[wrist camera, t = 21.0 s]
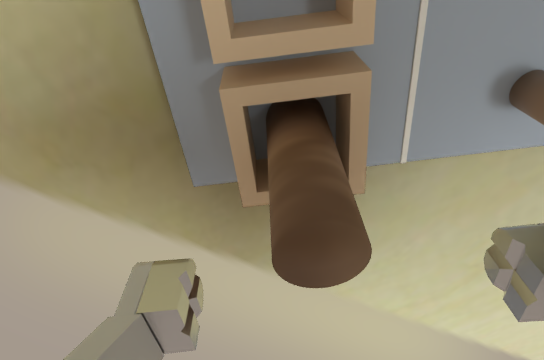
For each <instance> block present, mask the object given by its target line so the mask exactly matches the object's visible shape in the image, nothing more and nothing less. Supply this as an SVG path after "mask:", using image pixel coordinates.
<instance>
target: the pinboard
mask: <svg viewBox="0 0 544 360" xmlns="http://www.w3.org/2000/svg"><path fill="white" fill-rule="evenodd" d="M138 2H139V5H140V9H141V12H142V15H143V19H144V22H145V25H146V29H147V32H148V35H149V39H150V42H151V45H152V49H153V52H154V55H155V59H156V62H157V65H158V69H159V72H160V75H161V79H162V82H163V85H164V89H165V92H166V96H167V99H168V102H169V106H170V109H171V112H172V116H173V119H174V122H175V126H176V129H177V132H178V136H179V139H180V142H181V146H182V149H183V152H184V156H185V159H186V162H187V166H188V169H189V172H190V176H191V179H192V182H193V186H194V187H196V186H205V185H213V184H222V183H230V182H238V185H239V190H240V195H241V200H242V205H243V207H250V206H259V205H267V204H270V202H269V180H268V157H267V134H266V115H267V112H268V109H269V107H270V106H271V104H272V103H275V102H283V101H291V100H300V99H308V98H315V99H317V100H318V101H319V103H320V104H321V106H322V108H323V110H324V113H325V116H326V119H327V122H328V125H329V127H330V130H331V133H332V136H333V139H334V142H335V144H336V147H337V150H338V153H339V156H340V159H341V161H342V164H343V167H344V170H345V173H346V176H347V178H348V181H349V184H350V187H351V190H352V193H353V195H354V194H363V193H365V181H366V166H375V165H383V164H392V163H406V162H409V161H417V160H426V159H434V158H443V157H451V156H460V155H468V154H477V153H486V152H494V151H503V150H511V149H520V148H528V147H537V146H544V0H138Z"/></svg>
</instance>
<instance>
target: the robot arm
mask: <svg viewBox="0 0 544 360" xmlns="http://www.w3.org/2000/svg"><path fill="white" fill-rule="evenodd" d="M491 240H492V241H493V242H494V245H492V246H491V247H490V248H489V249H487V250H486V253H485V257H484V265H485V270H486V273H487V275H488V277H489V279H490V280H491V282H492V283H493V285H495V286H496V287H498V288H499V289H501V290H503V291H504V296H503V300H504V301H505V303H506V304H507V306H508V307H509V309H510V310H511V311H512V313H513V314H514V316H515V317H516V319H517V320H518V322H528V321H544V223H541V224H530V225H521V226H512V227H503V228H497V229H496V230H495V231H494V232H493V234H492V237H491ZM195 271H196V265H195V263H194V261H193V259H177V260H163V261H154V262H140V263H137V264H136V265H135V266H134V267H133V269H132V271H131V274H130V276H129V279H128V282H127V284H126V287H125V289H124V292H123V294H122V297H121V300H120V302H119V305H118V307H117V310H116V313H115V315H114V316H112V317H108V318H107V319H106V320H105V321H104V322H102V323H101V324H100V325H99V326H98V327H97V328H96V329H95V330H94V331H93V332H92V333H91V334H90V335H89V336H88V337H87V338H85V339H84V340H83V341H82V342H81V343H80V344H79V345H78V346H77V347H76V348H75V349H74V350H73V351H72V352H71V353H70V354H69V355H68V356H66V357H65V358H64V359H63V360H162V359H163V357H164V354H167V353H176V352H184V351H193V350H196V346H197V340H198V333H199V327H200V326H199V324H198V321H197V319H196V318H197V316H198V315H199V314H200V313H201V312H202V307H203V288H202V283H201V279H200V277H198V276H197V275H195Z"/></svg>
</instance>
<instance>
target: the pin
mask: <svg viewBox="0 0 544 360" xmlns="http://www.w3.org/2000/svg"><path fill="white" fill-rule="evenodd" d="M266 134H267V157H268V180H269V202H270V225H271V248H272V264H273V267H274V269H275V271H276V272H277V274H278V275H279V276H280V277H281V278H283V279H284V280H285V281H287V282H289V283H291V284H294V285H297V286H301V287H306V288H325V287H331V286H335V285H339V284H341V283H344V282H346V281H348V280H350V279H352V278H354V277H355V276H357V275H358V274H359V273H360V272H361V271H362V270H364V268H365V267H366V266H367V264H368V263H369V260H370V258H371V254H372V248H371V244H370V241H369V238H368V235H367V232H366V229H365V227H364V224H363V221H362V218H361V215H360V212H359V210H358V207H357V204H356V201H355V198H354V195H353V193H352V190H351V187H350V184H349V181H348V178H347V176H346V173H345V170H344V167H343V164H342V161H341V159H340V156H339V153H338V150H337V147H336V144H335V142H334V139H333V136H332V133H331V130H330V127H329V125H328V122H327V119H326V116H325V113H324V110H323V108H322V106H321V104H320V103H319V101H318V100H317V99H315V98H308V99H300V100H291V101H283V102H275V103H272V104H271V106H270V107H269V109H268V112H267V115H266Z"/></svg>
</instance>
